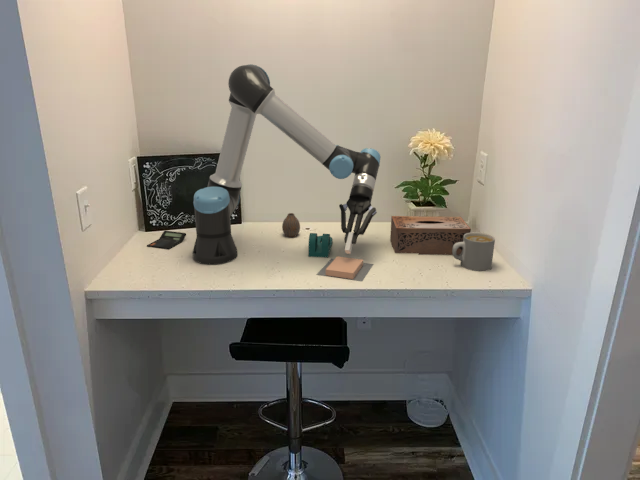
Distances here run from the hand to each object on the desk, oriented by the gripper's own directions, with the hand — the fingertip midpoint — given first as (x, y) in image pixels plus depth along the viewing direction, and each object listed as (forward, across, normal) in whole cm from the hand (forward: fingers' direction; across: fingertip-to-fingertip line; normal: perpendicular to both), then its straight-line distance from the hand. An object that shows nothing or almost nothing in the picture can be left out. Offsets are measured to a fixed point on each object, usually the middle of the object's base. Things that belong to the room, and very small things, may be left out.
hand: (347, 251), depth 163 cm
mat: (+5, 0, +3) cm, 6 cm away
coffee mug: (-8, +38, +17) cm, 42 cm away
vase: (-13, -30, +22) cm, 39 cm away
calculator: (+4, -70, +6) cm, 70 cm away
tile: (+1, 0, +6) cm, 6 cm away
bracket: (-6, -14, +15) cm, 21 cm away
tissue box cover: (-16, +22, +25) cm, 37 cm away
